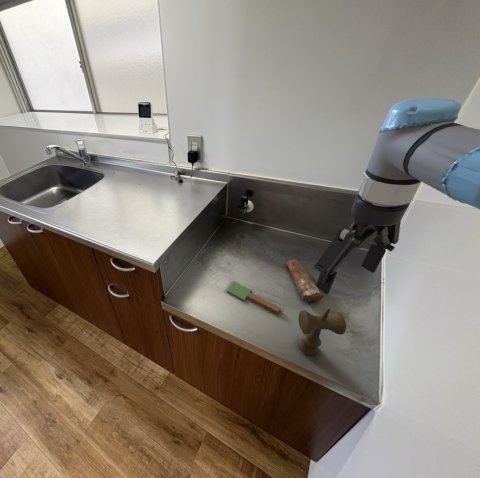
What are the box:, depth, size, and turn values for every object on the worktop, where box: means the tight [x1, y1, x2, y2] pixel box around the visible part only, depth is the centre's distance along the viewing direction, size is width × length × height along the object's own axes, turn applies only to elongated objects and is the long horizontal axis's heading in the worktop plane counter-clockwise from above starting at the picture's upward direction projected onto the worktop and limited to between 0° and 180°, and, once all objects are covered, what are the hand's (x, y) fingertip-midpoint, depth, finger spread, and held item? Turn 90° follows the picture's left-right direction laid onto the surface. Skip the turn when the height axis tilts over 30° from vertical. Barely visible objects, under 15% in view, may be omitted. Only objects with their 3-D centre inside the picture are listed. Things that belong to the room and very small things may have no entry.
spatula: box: [226, 281, 281, 315], centre depth 88 cm, size 18×5×1 cm, turn 49°
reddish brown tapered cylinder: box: [286, 258, 324, 303], centre depth 89 cm, size 6×19×6 cm, turn 177°
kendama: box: [297, 307, 347, 356], centre depth 67 cm, size 6×10×20 cm, turn 83°
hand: (345, 279), depth 57 cm, fingers open, 13 cm apart
